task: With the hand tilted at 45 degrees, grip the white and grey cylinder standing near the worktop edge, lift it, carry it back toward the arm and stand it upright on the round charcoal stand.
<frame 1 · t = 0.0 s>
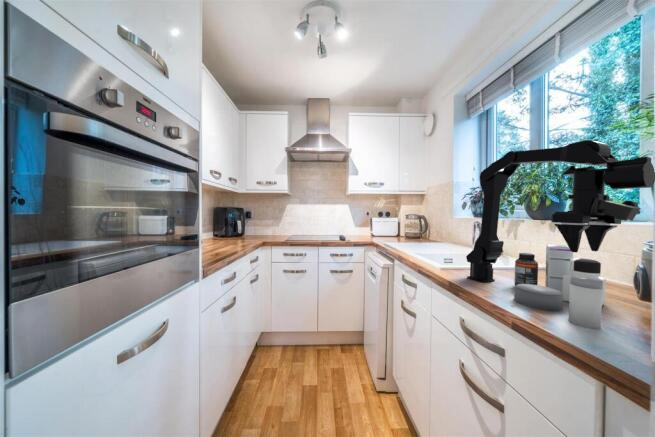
hand: (584, 251, 65), 15 cm above the countertop, tool pointing down, fingers open, 9 cm apart
white and grey cylinder: (583, 323, 56), on the countertop
charcoal stand: (537, 303, 68), on the countertop
syrup box: (557, 293, 78), on the countertop, touching medicine bottle
medicine bottle: (582, 303, 70), on the countertop, touching syrup box
supplement bottle: (525, 288, 83), on the countertop
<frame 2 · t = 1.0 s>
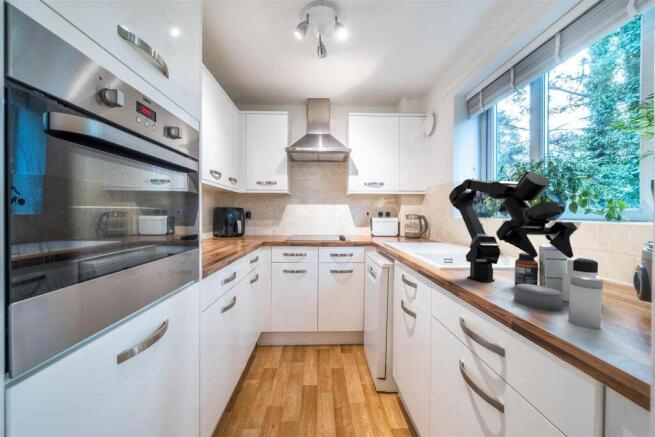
hand: (553, 256, 64), 13 cm above the countertop, tool tilted 45°, fingers open, 9 cm apart
syrup box: (553, 293, 78), on the countertop, touching medicine bottle
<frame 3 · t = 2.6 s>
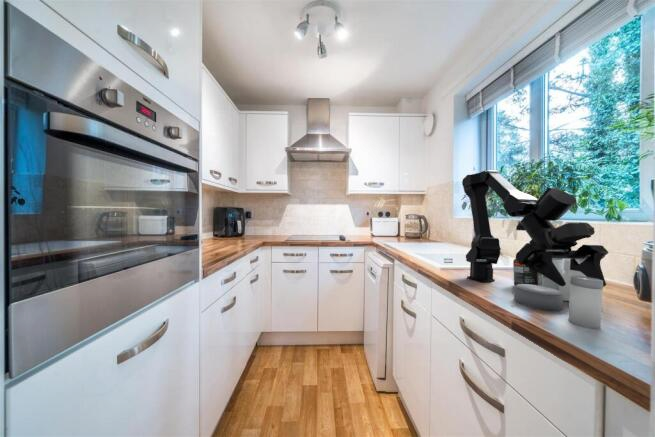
hand: (583, 285, 56), 8 cm above the countertop, tool tilted 45°, fingers open, 9 cm apart
syrup box: (549, 292, 79), on the countertop, touching supplement bottle, medicine bottle
supplement bottle: (524, 288, 83), on the countertop, touching syrup box
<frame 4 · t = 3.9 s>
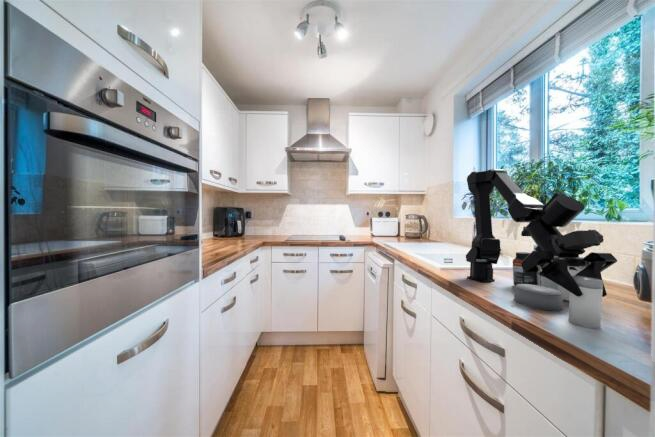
hand: (592, 295, 55), 7 cm above the countertop, tool tilted 45°, fingers closed on white and grey cylinder, 5 cm apart
white and grey cylinder: (584, 323, 56), on the countertop, touching gripper
medicine bottle: (574, 300, 72), on the countertop, touching syrup box
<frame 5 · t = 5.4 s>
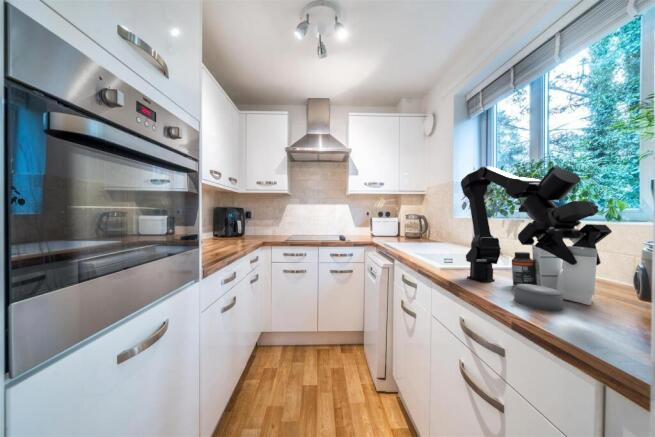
hand: (586, 264, 56), 13 cm above the countertop, tool tilted 45°, fingers closed on white and grey cylinder, 5 cm apart
white and grey cylinder: (578, 291, 58), point 7 cm above the countertop, touching gripper
when the fingers open (12 cm above the countertop, at t = 7.0 s): white and grey cylinder drops 1 cm, resting on charcoal stand.
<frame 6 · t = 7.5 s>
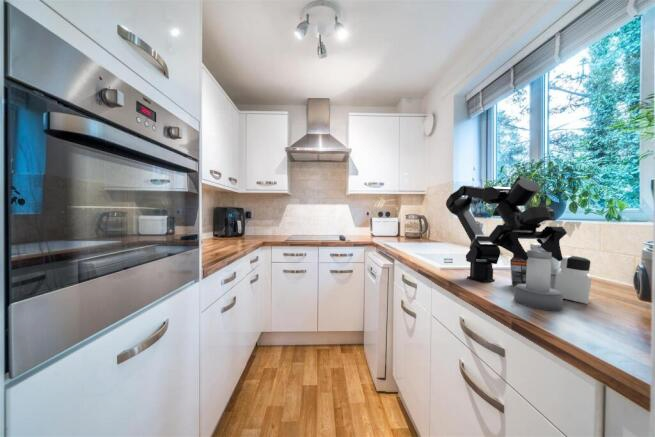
hand: (543, 259, 67), 12 cm above the countertop, tool tilted 45°, fingers open, 9 cm apart
white and grey cylinder: (537, 288, 68), point 4 cm above the countertop, touching charcoal stand
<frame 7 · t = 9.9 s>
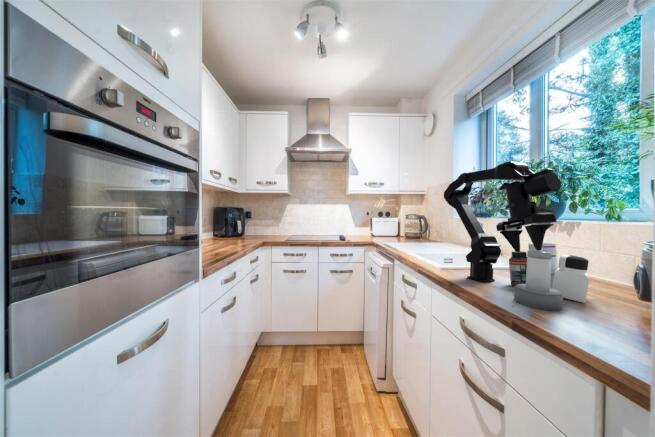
hand: (527, 251, 77), 13 cm above the countertop, tool pointing down, fingers open, 9 cm apart
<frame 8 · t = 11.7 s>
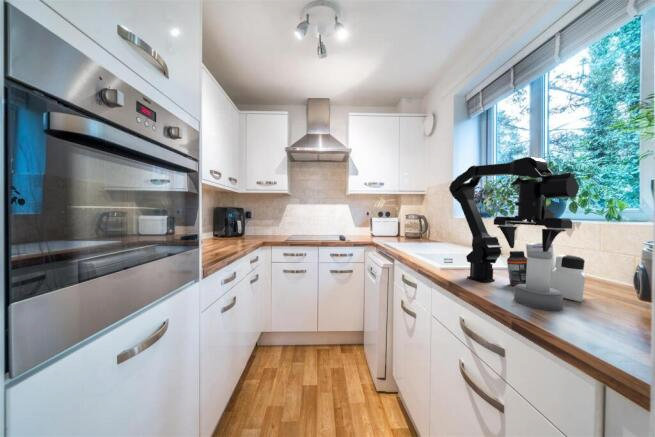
hand: (527, 250, 78), 13 cm above the countertop, tool pointing down, fingers open, 9 cm apart
syrup box: (543, 289, 82), on the countertop, touching supplement bottle, medicine bottle
at the end: white and grey cylinder 0.1 cm off-centre on the charcoal stand, point 4.0 cm above the charcoal stand's base; white and grey cylinder tilted 0°; the gripper is holding nothing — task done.
